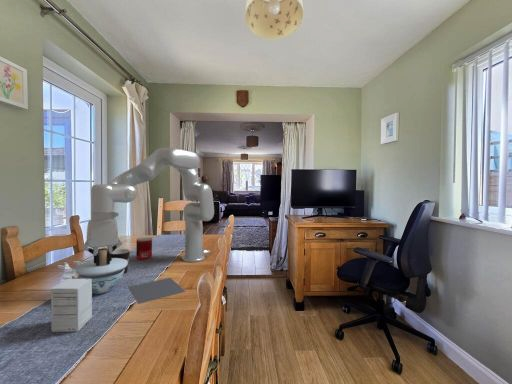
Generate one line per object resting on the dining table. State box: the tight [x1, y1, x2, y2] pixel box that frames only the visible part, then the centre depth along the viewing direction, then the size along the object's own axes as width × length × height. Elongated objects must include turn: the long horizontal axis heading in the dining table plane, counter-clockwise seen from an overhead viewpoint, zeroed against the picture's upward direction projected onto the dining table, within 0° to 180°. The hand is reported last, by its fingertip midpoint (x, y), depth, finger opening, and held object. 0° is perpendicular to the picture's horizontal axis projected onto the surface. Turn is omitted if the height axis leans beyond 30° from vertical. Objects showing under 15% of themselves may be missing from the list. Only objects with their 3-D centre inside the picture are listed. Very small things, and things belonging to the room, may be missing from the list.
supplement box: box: [50, 278, 93, 333], centre depth 74 cm, size 7×7×13 cm
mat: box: [128, 277, 187, 304], centre depth 99 cm, size 17×17×1 cm
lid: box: [75, 247, 127, 276], centre depth 96 cm, size 17×17×7 cm
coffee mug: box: [112, 248, 131, 275], centre depth 118 cm, size 12×9×10 cm
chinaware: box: [78, 269, 125, 295], centre depth 97 cm, size 15×15×8 cm
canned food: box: [135, 236, 153, 261], centre depth 139 cm, size 8×8×11 cm
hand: (102, 263), depth 97 cm, fingers closed on lid, 3 cm apart
